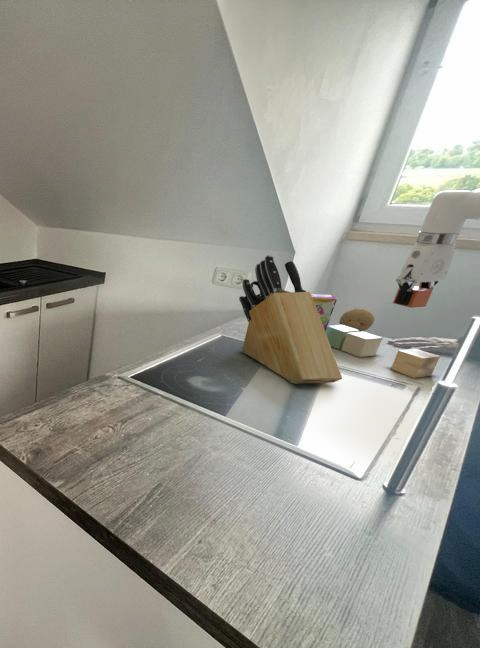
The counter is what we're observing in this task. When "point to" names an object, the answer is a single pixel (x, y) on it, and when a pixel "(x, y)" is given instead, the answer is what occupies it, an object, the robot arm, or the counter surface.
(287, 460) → the counter surface
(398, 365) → the beech block
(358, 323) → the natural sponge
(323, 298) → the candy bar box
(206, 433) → the counter surface
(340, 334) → the sage block
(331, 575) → the counter surface
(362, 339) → the cream block
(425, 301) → the terracotta block
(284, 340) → the knife block
